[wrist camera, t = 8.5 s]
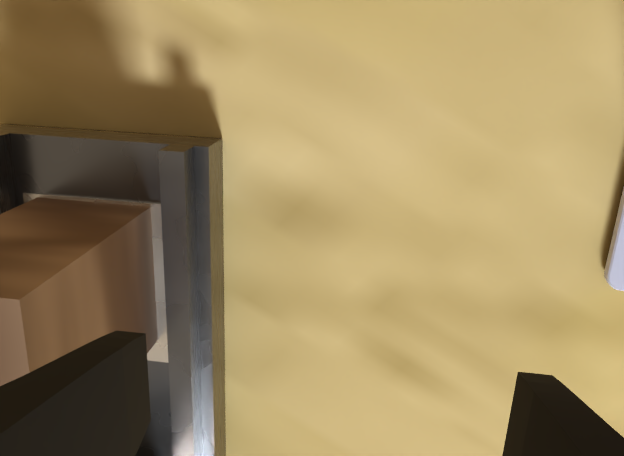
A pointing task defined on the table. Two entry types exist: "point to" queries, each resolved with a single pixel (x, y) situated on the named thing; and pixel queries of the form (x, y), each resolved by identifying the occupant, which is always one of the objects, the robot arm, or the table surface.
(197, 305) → the rail
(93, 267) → the walnut finger
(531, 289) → the table surface
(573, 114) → the table surface
